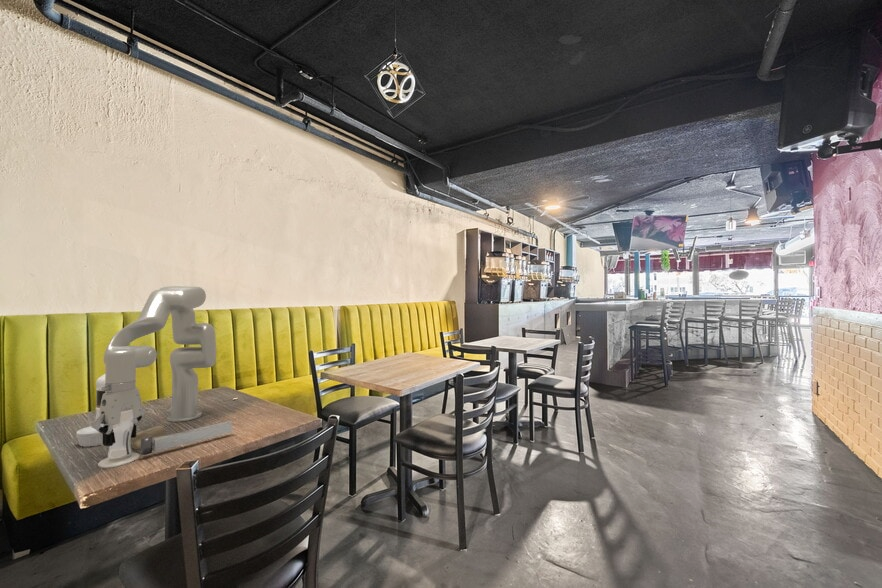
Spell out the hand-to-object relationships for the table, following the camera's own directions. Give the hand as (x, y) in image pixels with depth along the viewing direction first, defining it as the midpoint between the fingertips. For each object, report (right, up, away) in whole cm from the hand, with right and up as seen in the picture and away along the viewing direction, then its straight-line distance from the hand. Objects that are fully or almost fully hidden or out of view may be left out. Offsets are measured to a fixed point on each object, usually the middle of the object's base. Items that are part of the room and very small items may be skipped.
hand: (120, 440), depth 119 cm
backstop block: (-1, -7, +13) cm, 15 cm away
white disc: (0, -7, 0) cm, 7 cm away
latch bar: (+15, -5, +12) cm, 20 cm away
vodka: (-28, -7, +27) cm, 40 cm away
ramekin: (-22, -7, +15) cm, 28 cm away
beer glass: (0, -5, 0) cm, 5 cm away
